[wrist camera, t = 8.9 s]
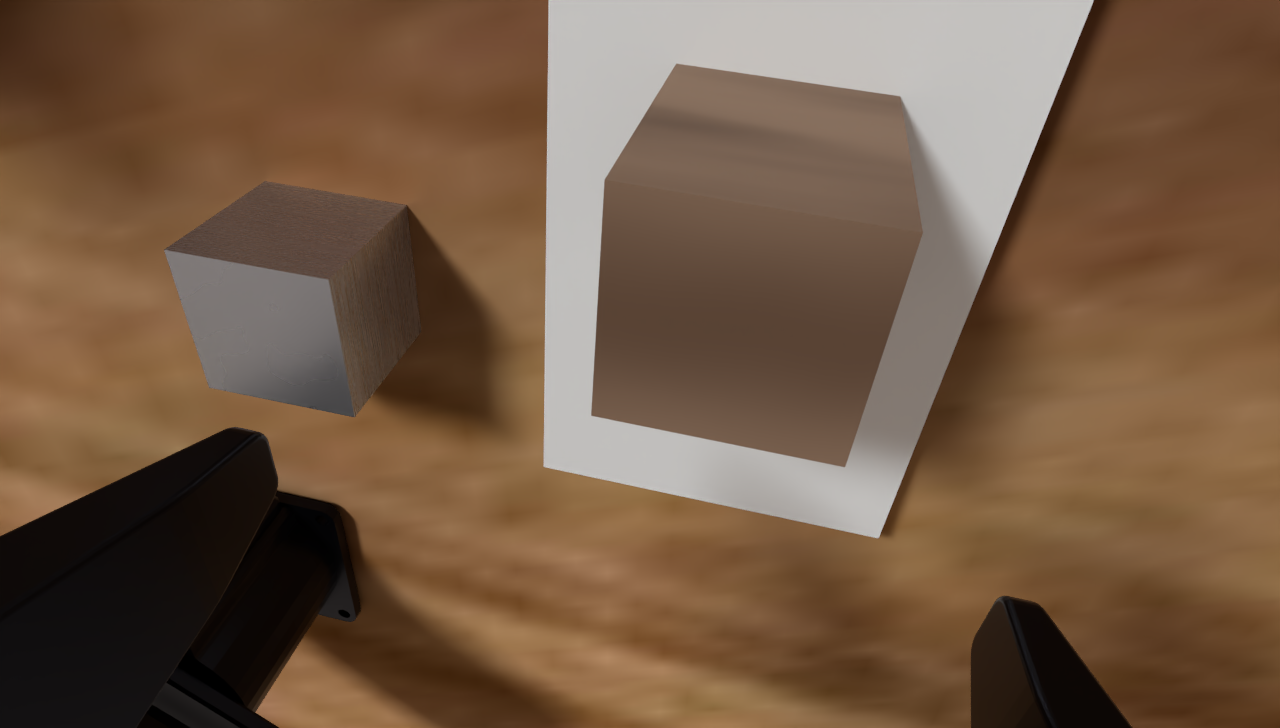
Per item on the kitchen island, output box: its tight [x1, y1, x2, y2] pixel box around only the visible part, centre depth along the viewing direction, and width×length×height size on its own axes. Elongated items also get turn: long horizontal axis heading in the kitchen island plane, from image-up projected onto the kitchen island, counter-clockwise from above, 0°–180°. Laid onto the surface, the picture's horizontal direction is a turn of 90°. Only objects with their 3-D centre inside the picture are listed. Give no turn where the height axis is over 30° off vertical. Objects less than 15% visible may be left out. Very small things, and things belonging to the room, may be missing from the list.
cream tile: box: [544, 0, 1094, 538], centre depth 17 cm, size 20×10×1 cm, turn 175°
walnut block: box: [591, 64, 923, 467], centre depth 15 cm, size 4×4×6 cm
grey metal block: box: [164, 181, 421, 417], centre depth 20 cm, size 4×4×4 cm
